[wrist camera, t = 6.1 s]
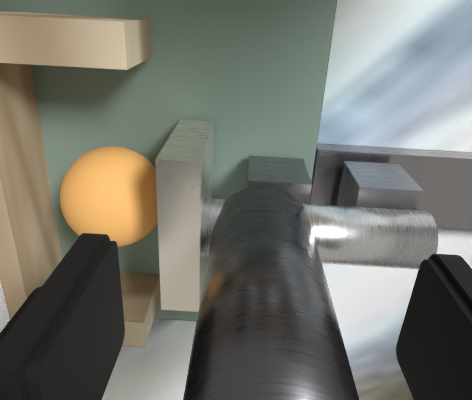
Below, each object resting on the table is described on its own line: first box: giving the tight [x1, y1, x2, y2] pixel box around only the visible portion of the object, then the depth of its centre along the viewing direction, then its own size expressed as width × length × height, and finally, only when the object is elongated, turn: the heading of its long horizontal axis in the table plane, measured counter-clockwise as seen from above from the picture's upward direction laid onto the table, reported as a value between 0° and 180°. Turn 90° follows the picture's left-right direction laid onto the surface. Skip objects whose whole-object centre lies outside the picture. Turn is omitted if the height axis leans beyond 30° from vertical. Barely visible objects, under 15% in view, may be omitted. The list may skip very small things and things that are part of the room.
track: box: [309, 144, 472, 230], centre depth 16 cm, size 11×3×1 cm, turn 87°
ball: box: [60, 146, 158, 247], centre depth 14 cm, size 4×4×4 cm
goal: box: [0, 11, 161, 347], centre depth 14 cm, size 5×11×3 cm, turn 177°
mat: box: [0, 0, 337, 321], centre depth 16 cm, size 11×14×1 cm
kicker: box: [155, 119, 438, 400], centre depth 10 cm, size 8×5×11 cm, turn 87°
